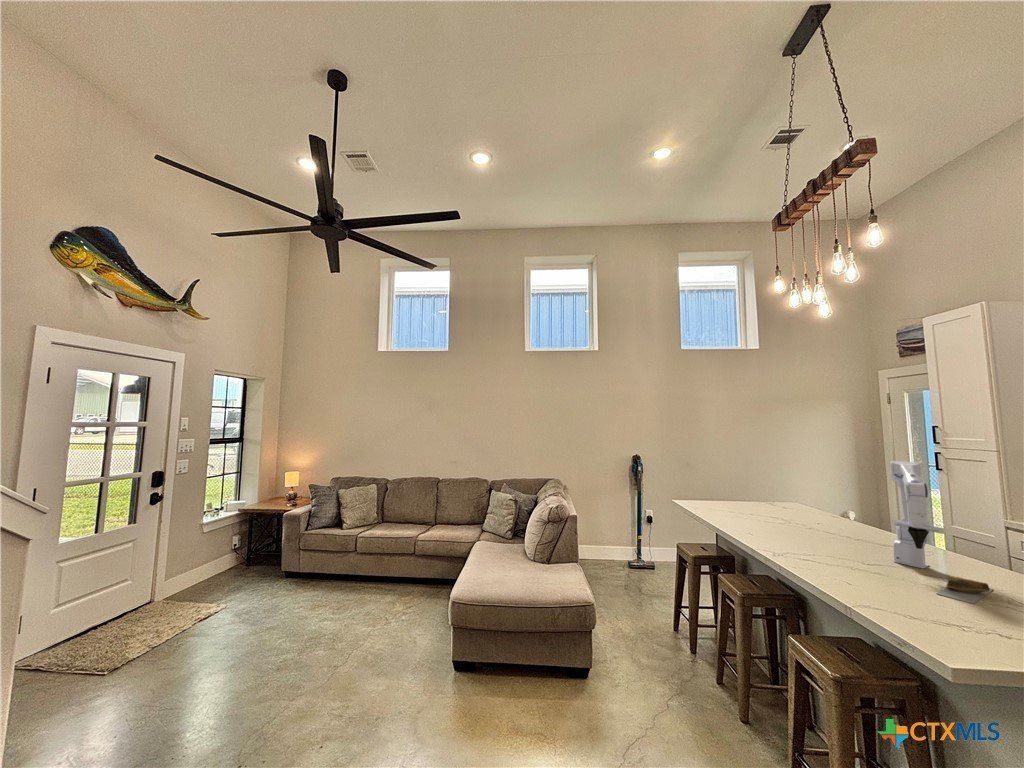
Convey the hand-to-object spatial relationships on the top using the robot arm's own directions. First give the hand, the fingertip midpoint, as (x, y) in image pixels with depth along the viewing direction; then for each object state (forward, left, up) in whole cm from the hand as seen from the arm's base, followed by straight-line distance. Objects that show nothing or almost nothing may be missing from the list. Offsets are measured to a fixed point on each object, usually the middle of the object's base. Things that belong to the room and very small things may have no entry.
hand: (919, 548), depth 167 cm
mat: (+14, -8, -10) cm, 19 cm away
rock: (+9, -7, -8) cm, 14 cm away
